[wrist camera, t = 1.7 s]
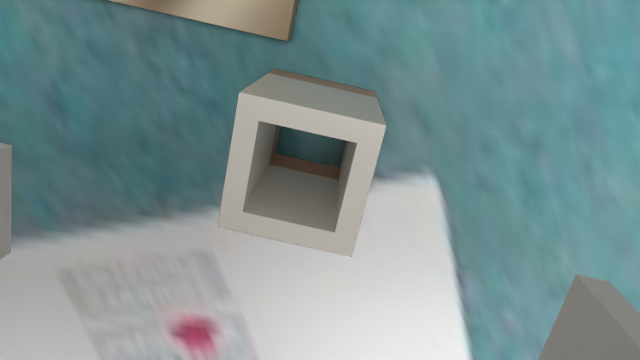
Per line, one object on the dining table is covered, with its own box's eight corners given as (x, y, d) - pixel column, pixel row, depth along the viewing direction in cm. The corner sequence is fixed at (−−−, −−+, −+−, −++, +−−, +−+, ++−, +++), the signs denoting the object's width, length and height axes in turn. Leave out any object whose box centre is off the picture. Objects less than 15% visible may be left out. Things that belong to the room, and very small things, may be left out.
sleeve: (257, 164, 25) (217, 226, 18) (274, 68, 24) (239, 92, 16) (351, 185, 25) (351, 256, 18) (374, 91, 24) (386, 125, 16)
